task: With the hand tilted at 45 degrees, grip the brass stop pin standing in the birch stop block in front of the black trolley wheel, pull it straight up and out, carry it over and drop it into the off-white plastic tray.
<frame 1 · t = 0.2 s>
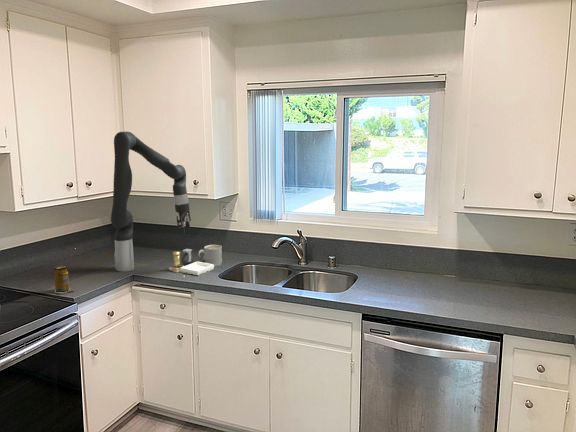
hand: (185, 231, 250), 22 cm above the worktop, tool pointing down, fingers open, 8 cm apart
stop block: (177, 270, 255), on the worktop
tray: (197, 270, 254), on the worktop
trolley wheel: (187, 266, 262), on the worktop
condiment: (63, 291, 222), on the worktop
coffee mug: (210, 263, 267), on the worktop
stop pin: (177, 261, 254), in the stop block
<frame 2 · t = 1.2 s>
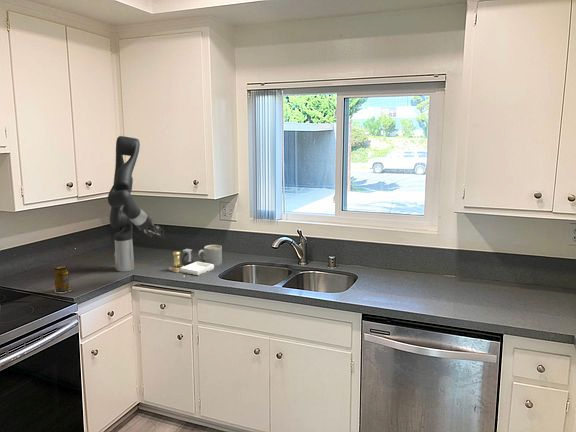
hand: (158, 236, 239), 22 cm above the worktop, tool tilted 45°, fingers open, 8 cm apart
nothing on the worktop moved.
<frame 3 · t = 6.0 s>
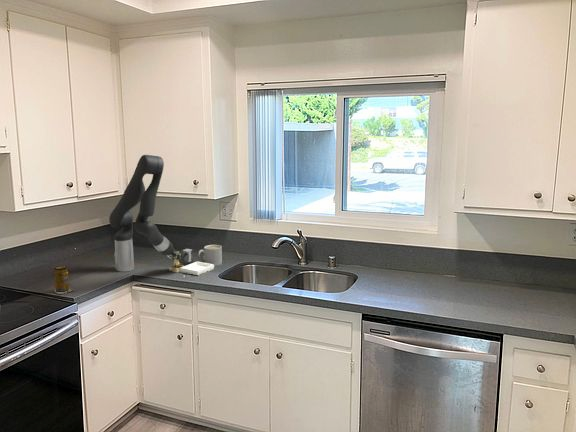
hand: (179, 261, 255), 4 cm above the worktop, tool tilted 45°, fingers closed on stop pin, 3 cm apart
stop pin: (177, 261, 254), in the stop block, touching gripper
everything else where it was.
when the fingers open (7 cm above the worktop, at t = 12.2 s): stop pin drops 2 cm, resting on tray.
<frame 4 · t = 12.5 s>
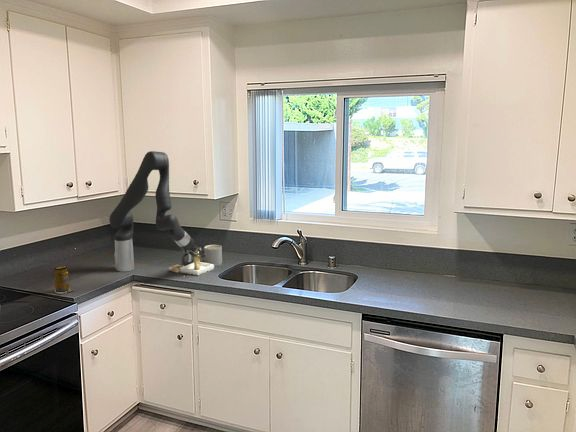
hand: (199, 256, 254), 8 cm above the worktop, tool tilted 45°, fingers open, 6 cm apart
stop pin: (197, 260, 253), in the tray, point 6 cm above the worktop
everything else where it was.
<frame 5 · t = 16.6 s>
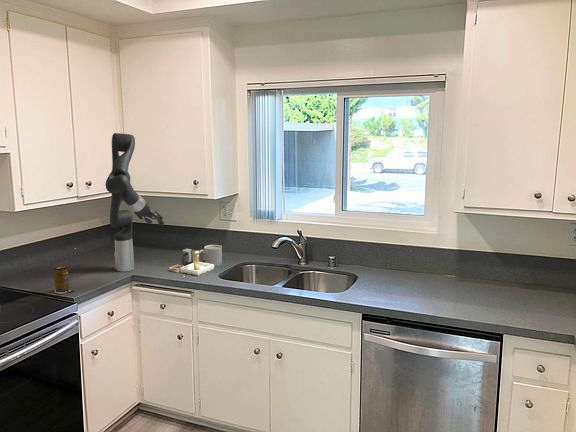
hand: (156, 223, 237), 29 cm above the worktop, tool tilted 45°, fingers open, 8 cm apart
nothing on the worktop moved.
at the end: stop pin inside the target area on the tray (0.3 cm from its centre), point 6.0 cm above the tray's base; the gripper is holding nothing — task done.
